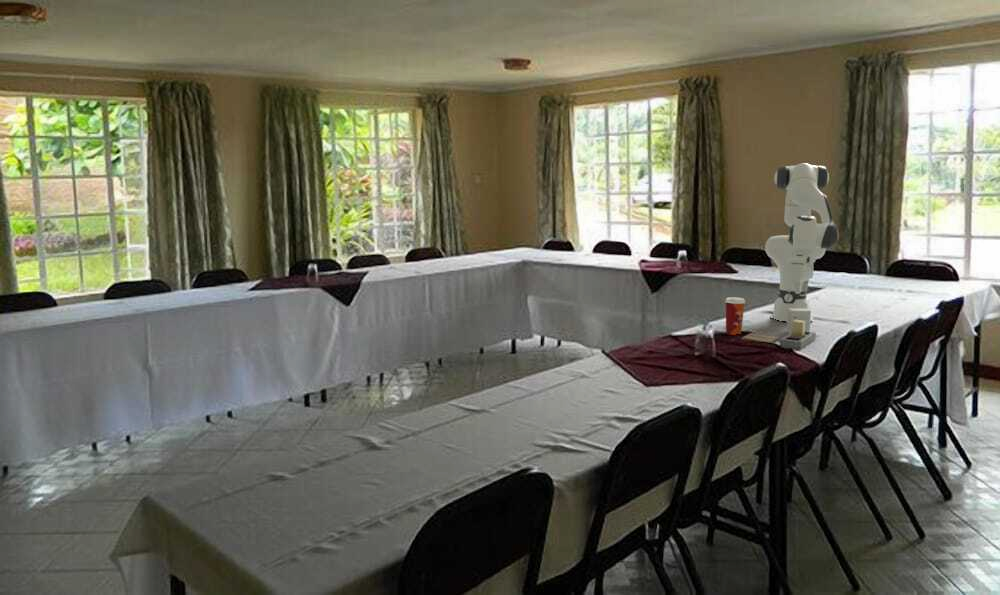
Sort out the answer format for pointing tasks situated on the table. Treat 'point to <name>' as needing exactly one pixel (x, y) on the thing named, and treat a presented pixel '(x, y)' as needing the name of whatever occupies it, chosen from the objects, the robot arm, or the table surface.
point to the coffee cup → (734, 315)
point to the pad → (760, 338)
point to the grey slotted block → (797, 340)
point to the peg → (798, 328)
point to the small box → (798, 318)
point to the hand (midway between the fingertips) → (801, 292)
